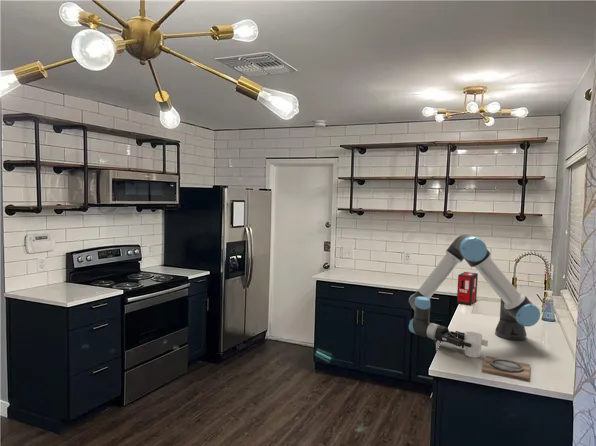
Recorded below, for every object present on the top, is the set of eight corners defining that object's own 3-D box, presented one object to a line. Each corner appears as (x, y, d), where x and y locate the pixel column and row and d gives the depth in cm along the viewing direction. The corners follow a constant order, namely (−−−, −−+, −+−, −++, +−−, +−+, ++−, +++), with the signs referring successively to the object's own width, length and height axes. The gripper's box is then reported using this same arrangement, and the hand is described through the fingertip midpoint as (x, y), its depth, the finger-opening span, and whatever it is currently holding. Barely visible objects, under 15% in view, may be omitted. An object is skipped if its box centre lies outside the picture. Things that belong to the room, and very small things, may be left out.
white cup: (476, 352, 213) (478, 331, 212) (484, 358, 205) (485, 337, 204) (460, 351, 213) (461, 331, 212) (467, 358, 205) (468, 336, 204)
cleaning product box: (470, 305, 303) (471, 276, 301) (456, 303, 308) (458, 274, 306) (476, 301, 316) (477, 273, 315) (463, 299, 321) (464, 271, 320)
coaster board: (486, 358, 205) (486, 354, 205) (530, 366, 197) (530, 362, 197) (481, 371, 189) (482, 367, 189) (529, 381, 181) (529, 376, 181)
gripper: (448, 336, 229) (492, 348, 212) (426, 344, 215) (471, 358, 198) (449, 321, 228) (493, 333, 211) (427, 329, 215) (472, 342, 198)
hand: (483, 345), depth 205 cm, fingers closed on white cup, 8 cm apart
